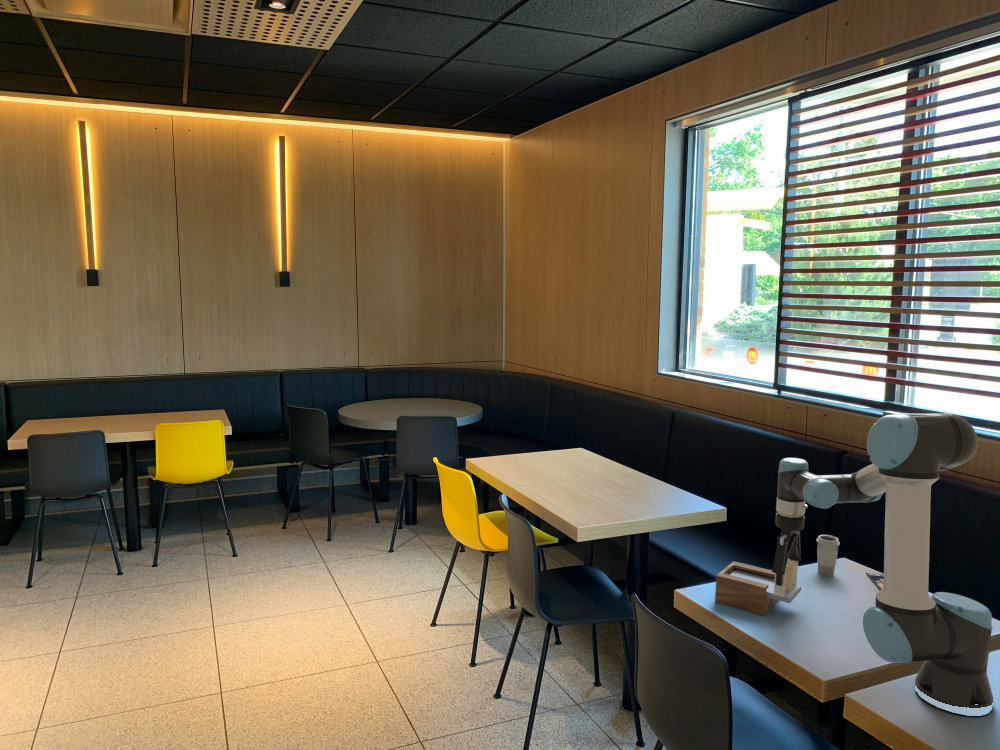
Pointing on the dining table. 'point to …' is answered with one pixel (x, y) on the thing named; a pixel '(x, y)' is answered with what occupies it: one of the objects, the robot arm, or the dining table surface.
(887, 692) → the dining table surface
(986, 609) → the robot arm
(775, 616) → the dining table surface
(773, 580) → the lid
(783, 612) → the dining table surface
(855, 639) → the dining table surface
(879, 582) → the smartphone
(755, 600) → the case
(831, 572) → the cup
